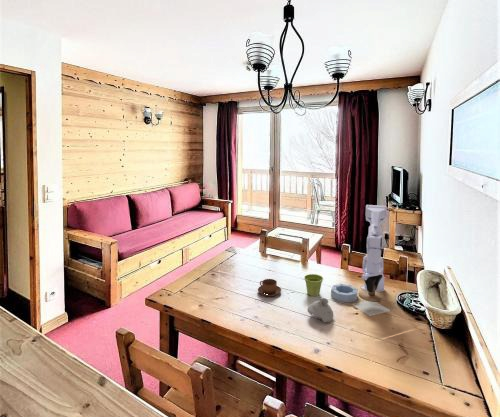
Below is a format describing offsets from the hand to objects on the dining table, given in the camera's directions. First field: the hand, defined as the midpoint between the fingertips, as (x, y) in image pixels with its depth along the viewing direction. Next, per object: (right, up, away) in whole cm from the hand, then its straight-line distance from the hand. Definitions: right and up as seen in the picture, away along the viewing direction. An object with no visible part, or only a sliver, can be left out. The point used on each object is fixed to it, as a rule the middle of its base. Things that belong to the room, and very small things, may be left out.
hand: (371, 290), depth 145 cm
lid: (0, -3, 0) cm, 3 cm away
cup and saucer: (-45, -6, +19) cm, 50 cm away
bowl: (-9, -6, +13) cm, 17 cm away
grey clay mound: (-25, -11, -6) cm, 27 cm away
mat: (0, -8, +1) cm, 9 cm away
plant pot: (-23, -6, +17) cm, 29 cm away
